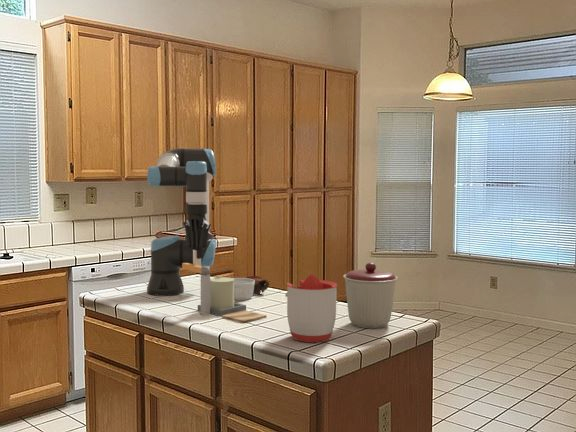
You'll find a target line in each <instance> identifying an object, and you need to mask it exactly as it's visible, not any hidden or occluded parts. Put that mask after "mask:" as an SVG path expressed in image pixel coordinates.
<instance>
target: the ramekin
mask: <svg viewBox="0 0 576 432" xmlns="http://www.w3.org/2000/svg"><path fill="white" fill-rule="evenodd" d="M232 278H233V279H234V301H246V300H251V298H252V297H253V295H254V294H253V291H254V284H255V281H254V280H253V279H248V278H247V277H232Z"/></svg>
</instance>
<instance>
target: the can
mask: <svg viewBox="0 0 576 432" xmlns="http://www.w3.org/2000/svg"><path fill="white" fill-rule="evenodd" d="M233 278H234V277H227V276H226V277H225V276H223V277H222V276H221V277H213V278H212V277H211V278H210V307H211V308H216V309H220V310H222V309H227V308H231V307H234V302H235V300H234V279H233Z"/></svg>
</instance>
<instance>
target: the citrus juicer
mask: <svg viewBox="0 0 576 432" xmlns="http://www.w3.org/2000/svg"><path fill="white" fill-rule="evenodd" d="M286 286H287V289H286V290H287V292H286V293H285V297H286V298H287V299H286V300H287V301H286V302H287V304H286V305H287V306H286V307H287V308H286V310H287V311H286V313H287V314H286V315H287V323H288V326H289V331H290V333H291V334H290V335H291V337H292V338H293V339H295V341H296V340H297V341H299V342H300V341H301V342H307V343H311V344H312V343H313V344H317V343H319V342H326V341H328V340H330V338H331V336H332V334H333V331H334V327H335V322H336V320H337V319H336V317H337V287H338V283H337V282H334V281H330V280H323V279H319V278H318V277H317V276H316V275H314V273H312V274H309V275H308V276H307V277H306V278H305V279H300V280H299V286H297V287H295V286H294V284H292V283H290V282H287V283H286Z"/></svg>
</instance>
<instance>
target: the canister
mask: <svg viewBox="0 0 576 432" xmlns="http://www.w3.org/2000/svg"><path fill="white" fill-rule="evenodd" d="M376 268H377V265H376V263H373V262H367V263H366V264H365V269H355V270H354V269H353V270H350V271H347V273H345V274H343V276H342V277H343V278H344V281H345V282H344V283H345V293H346V302H347V303H346V304H347V313H348V318H349V320H350V323H351V324H352V325H354V326H356V327H358V328H364V329H380V328H384V327H386V326H388V325H389V323H390V321H391V319H392V318H391V317H392V311H393V305H394V298H395V291H396V283H397V281H398V279H399V278H398V276H397V275H395V274H394V273H393V272H390V271H387V270H381V269H376Z"/></svg>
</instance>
